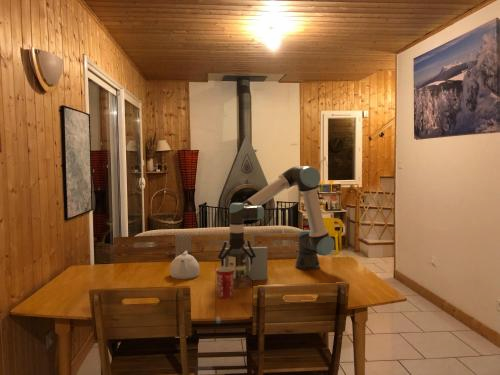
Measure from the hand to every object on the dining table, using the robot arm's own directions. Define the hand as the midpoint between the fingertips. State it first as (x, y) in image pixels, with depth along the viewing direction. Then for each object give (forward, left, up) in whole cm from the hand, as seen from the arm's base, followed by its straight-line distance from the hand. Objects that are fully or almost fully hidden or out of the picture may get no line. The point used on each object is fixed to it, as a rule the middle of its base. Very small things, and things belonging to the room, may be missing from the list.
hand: (236, 270), depth 234 cm
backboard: (-5, -8, -7) cm, 12 cm away
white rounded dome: (+28, -22, -8) cm, 36 cm away
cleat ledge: (0, 0, -7) cm, 7 cm away
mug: (+8, +22, -7) cm, 24 cm away
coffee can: (0, 0, -4) cm, 4 cm away
